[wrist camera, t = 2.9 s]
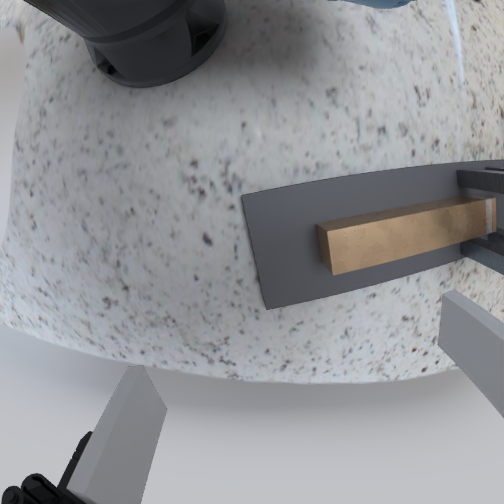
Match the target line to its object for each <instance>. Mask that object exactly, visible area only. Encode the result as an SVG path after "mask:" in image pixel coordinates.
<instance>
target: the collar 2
mask: <svg viewBox="0 0 504 504" xmlns="http://www.w3.org/2000/svg"><path fill="white" fill-rule="evenodd" d="M485 170H492V171H502V172H504V167H485ZM488 241H490V242H493V243H495V244H498V245H500V246H503V247H504V229H501V228H498V227H496V231H495V232H492V233H489V234H488Z"/></svg>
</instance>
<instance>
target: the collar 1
mask: <svg viewBox="0 0 504 504" xmlns="http://www.w3.org/2000/svg"><path fill="white" fill-rule="evenodd" d="M456 173H457V182H458V187H464V188H471V189H477V190H483V191H489V192H495V193H500V194H504V172H502V171H492V170H479V169H461V170H456ZM460 254H462V255H464V256H467V257H469V258H471V259H473V260H475V261H477V262H479V263H481V264H483V265H485V266H487V267H489V268H491V269H493V270H495V271H497V272H499V273H501V274H502V275H504V247H503V246H500V245H498V244H495V243H493V242H490V241H487V240H485V239H482V238H480V237H476V238H473V239H469V240H466V241H463V242H460Z"/></svg>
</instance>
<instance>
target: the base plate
mask: <svg viewBox="0 0 504 504" xmlns="http://www.w3.org/2000/svg"><path fill="white" fill-rule="evenodd" d="M485 167H504V160H485V161H470V162H457V163H445V164H434V165H425V166H415V167H407V168H398V169H391V170H383V171H376V172H368V173H362V174H355V175H348V176H342V177H336V178H330V179H324V180H318V181H312V182H306V183H301V184H296V185H290V186H285V187H280V188H275V189H270V190H265V191H260V192H255V193H250V194H246V195H242V200H243V205H244V210H245V214H246V219H247V223H248V228H249V232H250V237H251V241H252V246H253V251H254V255H255V260H256V264H257V269H258V273H259V278H260V283H261V287H262V292H263V296H264V301H265V306H266V310H269V309H274V308H279V307H284V306H289V305H293V304H298V303H302V302H307V301H311V300H316V299H320V298H324V297H328V296H333V295H337V294H341V293H345V292H349V291H353V290H357V289H361V288H364V287H368V286H372V285H376V284H379V283H383V282H387V281H390V280H394V279H397V278H401V277H404V276H408V275H411V274H415V273H418V272H421V271H425V270H428V269H431V268H434V267H438V266H441V265H444V264H447V263H450V262H453V261H456V260H459V259H462V258H465V257H467V256H464V255H462V254H460V242H459V243H456V244H453V245H449V246H446V247H442V248H439V249H435V250H431V251H428V252H424V253H420V254H417V255H413V256H409V257H406V258H402V259H398V260H394V261H390V262H386V263H382V264H379V265H375V266H371V267H366V268H362V269H358V270H354V271H350V272H346V273H342V274H337V275H332V274H331V273H330V271H329V270H328V269H327V268H326V266H325V265H324V264H323V263H322V259H321V252H320V245H319V239H318V232H317V226H316V223H321V222H326V221H331V220H336V219H341V218H346V217H351V216H356V215H361V214H367V213H372V212H377V211H382V210H387V209H393V208H398V207H403V206H409V205H414V204H420V203H425V202H431V201H436V200H442V199H447V198H453V197H459V196H464V195H470V194H479V195H484V196H489V197H495V198H496V227H498V228H501V229H504V194H500V193H495V192H489V191H483V190H477V189H471V188H464V187H458V182H457V173H456V170H461V169H479V170H485ZM479 237H480V238H482V239H485V240H487V241H488V234H486V235H483V236H479Z"/></svg>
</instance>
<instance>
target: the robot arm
mask: <svg viewBox="0 0 504 504" xmlns="http://www.w3.org/2000/svg"><path fill="white" fill-rule="evenodd" d="M24 1H25V2H27V3H29V4H31V5H32V6H34V7H36V8H37V9H39V10H41V11H42V12H44V13H46V14H47V15H49V16H51V17H52V18H54V19H55V20H57V21H58V22H60V23H62V24H63V25H65V26H66V27H68V28H69V29H71V30H72V31H74V32H75V33H77V34H78V35H80V36H81V37H83V38H84V41H85V43H86V46H87V48H88V51H89V53H90V55H91V58H92V60H93V62H94V64H95V65H96V67H97V68H98V69H99V70H100V71H101V72H102V73H103V74H104V75H106V76H107V77H109V78H110V79H112V80H114V81H115V82H117V83H119V84H122V85H126V86H130V87H152V86H157V85H161V84H165V83H168V82H171V81H173V80H176V79H178V78H180V77H182V76H184V75H186V74H188V73H189V72H191V71H193V70H194V69H196V68H197V67H198V66H200V65H201V64H202V63H203V62H204V61H205V60H206V59H207V58H208V57H209V56H210V55H211V54H212V53H213V52H214V51H215V49H216V48H217V46H218V45H219V43H220V42H221V40H222V37H223V35H224V32H225V28H226V11H225V5H224V2H223V0H24ZM328 1H337V0H328ZM342 1H347V2H352V3H356V4H360V5H365V6H369V7H373V8H379V9H391V8H397V7H400V6H403V5H406V4H408V3H409V2H410V1H415V0H342ZM437 345H438V346H439V347H440V348H441V349H442V350H443V351H444V352H445V353H446V354H447V355H448V356H449V357H450V358H451V359H452V360H453V361H454V362H455V363H456V365H457V366H458V367H459V368H460V369H461V370H462V371H463V372H464V373H465V374H466V375H467V376H468V377H469V379H470V380H471V381H472V382H473V383H474V384H475V385H476V386H477V387H478V389H479V390H480V391H481V392H482V393H483V394H484V395H485V397H486V398H487V399H488V400H489V401H490V402H491V403H492V405H493V406H494V407H495V408H496V409H497V411H498V412H499V413H500V414H501V415H502V417H503V418H504V323H503V322H502V321H500V320H499V319H497V318H496V317H495V316H493V315H492V314H490V313H489V312H488V311H486V310H485V309H483V308H482V307H480V306H479V305H477V304H476V303H474V302H473V301H472V300H470V299H469V298H467V297H466V296H464V295H463V294H461V293H460V292H458V291H456V290H455V289H454V290H452V291H449V292H447V293H444V294H442V309H441V320H440V329H439V337H438V344H437ZM166 412H167V408H166V406H165V404H164V402H163V401H162V399H161V397H160V396H159V394H158V392H157V390H156V389H155V387H154V385H153V383H152V381H151V379H150V377H149V376H148V374H147V372H146V370H145V368H144V366H143V365H139V366H128V368H127V370H126V372H125V373H124V375H123V377H122V379H121V380H120V383H119V384H118V386H117V388H116V390H115V392H114V393H113V395H112V397H111V399H110V401H109V403H108V405H107V406H106V409H105V410H104V412H103V414H102V416H101V418H100V420H99V422H98V424H97V426H96V428H95V429H94V431H93V432H91V431H89V432H88V433H87V434H86V435H85V436H84V437H83V438H82V439H81V440H80V442H79V444H78V446H77V448H76V451H75V452H74V454H73V456H72V459H71V460H70V462H69V464H68V466H67V468H66V470H65V472H64V474H63V476H62V478H61V480H60V482H59V484H58V486H57V487H55V486H54V485H53V484H52V483H51V482H50V481H49V480H47V479H46V478H45V477H44V476H43V475H41V474H38V473H36V474H31V475H29V476H27V477H26V478H25V480H24V481H23V482H22V485H21V489H20V488H19V487H17V486H10V487H8V488H7V489H6V490H5V491H4V493H3V496H2V503H1V504H141V501H142V497H143V493H144V489H145V485H146V482H147V478H148V474H149V470H150V467H151V463H152V460H153V456H154V453H155V449H156V446H157V442H158V439H159V435H160V432H161V429H162V425H163V422H164V419H165V415H166Z"/></svg>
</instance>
